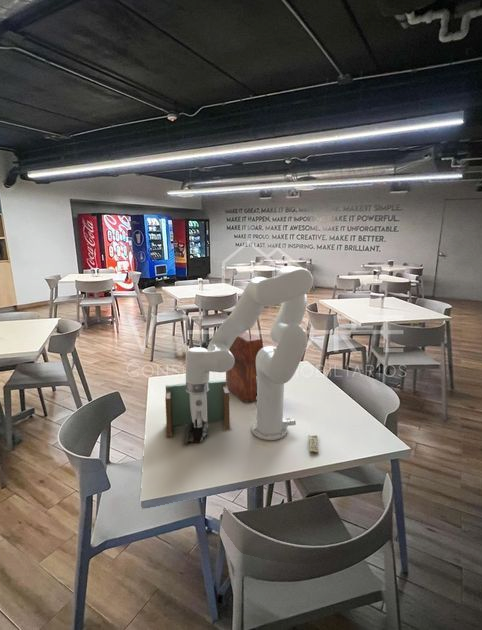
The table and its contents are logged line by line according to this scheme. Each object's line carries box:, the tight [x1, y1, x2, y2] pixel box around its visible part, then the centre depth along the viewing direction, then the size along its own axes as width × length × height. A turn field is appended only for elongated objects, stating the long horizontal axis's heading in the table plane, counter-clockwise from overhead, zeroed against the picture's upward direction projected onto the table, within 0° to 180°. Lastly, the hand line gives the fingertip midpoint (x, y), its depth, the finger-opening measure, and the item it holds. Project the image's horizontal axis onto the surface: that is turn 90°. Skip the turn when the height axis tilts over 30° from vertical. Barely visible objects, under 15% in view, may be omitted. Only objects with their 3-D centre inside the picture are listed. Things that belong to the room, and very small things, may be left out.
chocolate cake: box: [183, 417, 209, 445], centre depth 118 cm, size 10×7×12 cm
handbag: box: [225, 329, 264, 403], centre depth 149 cm, size 10×19×35 cm, turn 31°
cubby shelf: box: [164, 379, 231, 438], centre depth 122 cm, size 22×9×16 cm, turn 104°
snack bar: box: [308, 434, 320, 454], centre depth 113 cm, size 10×2×3 cm
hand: (197, 436), depth 113 cm, fingers closed
